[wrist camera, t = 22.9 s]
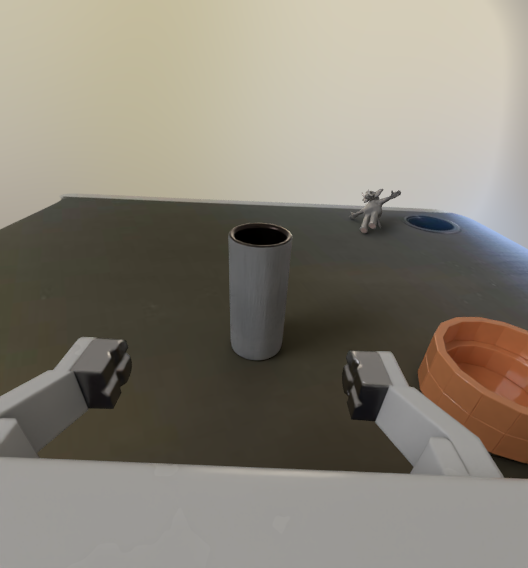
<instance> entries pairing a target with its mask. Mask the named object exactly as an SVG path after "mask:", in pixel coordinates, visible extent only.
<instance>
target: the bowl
mask: <svg viewBox="0 0 528 568" xmlns="http://www.w3.org/2000/svg"><path fill="white" fill-rule="evenodd" d="M418 377H419V384H420V389H421V391H422V393H423V395H424V396H426V397H427V398H428V399H429V400H431V401H432V402H433V403H435V404H436V405H437V406H438V407H440V408H441V409H442V410H444V411H445V412H446V413H448V414H449V415H450V416H451V417H453V418H454V419H455V420H457V421H458V422H459V423H461V424H462V425H463V426H464V427H466V428H467V429H468V430H470V431H471V432H472V433H473V434H475V435H476V436H477V437H479V438H480V440H481V441H482V443H483V445H484V446H485V448H486V449H487V451H489V452H491V453H492V454H496V455H499V456H502V457H506V458H509V459H512V460H516V461H519V462H522V463H527V464H528V331H527V330H524V329H521V328H519V327H516V326H513V325H511V324H508V323H505V322H501V321H496V320H491V319H486V318H481V317H456V318H453V319H450V320H448V321H445V322H442V323H441V324H440V325H439V327H438V328H437V330H436V332H435V333H434V335H433V338H432V340H431V342H430V345H429V347H428V349H427V351H426V354H425V356H424V358H423V361H422V363H421V365H420V367H419V370H418Z"/></svg>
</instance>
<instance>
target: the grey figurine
mask: <svg viewBox="0 0 528 568" xmlns="http://www.w3.org/2000/svg"><path fill="white" fill-rule="evenodd" d="M382 191H383V189H380V190H378V191H377V192H373V191H369V190H368V191H367V192H366V194H365V196H364V194H363V193H362V195H363V197H364V199H363V201H364V203H365V202H368V201H369V202H368V204H367V205H366V206H365V208H363V209H362V210H360V211H359V212H357V213H353V212H351V213H352V215H350V217H351V218H352V219H353V218H356V217H357V216H358V215H360V214H362V213H364V216H365V217H364V219H363V223H362V226H361V228H360V231H361V232H362V233H367V230H368V225H369V227H370V228H371V229H376V224H377V223H378V225H379V227H380V229H381V224H380V220H379V218H380V217H381V215H382V208H381V207H382V205H383V204H384V203H385V202H387V201H389V200H390V199H393V198H395V197H397V196H399V195H400V194H401V192H400V191H397V192H395V193H393V191H392V194H391V196H389V197H387V198H383V199H380V200H379V197H378V196H379V195H380V194H381V192H382ZM369 222H370V223H369Z"/></svg>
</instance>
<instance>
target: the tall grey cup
mask: <svg viewBox="0 0 528 568" xmlns="http://www.w3.org/2000/svg"><path fill="white" fill-rule="evenodd" d="M291 246H292V235H291V233H290V232H289V231H288V230H287V229H285V228H283V227H280V226H277V225H273V224H267V223H249V224H243V225H240V226H237V227H235V228H233V229H232V230H231V231H230V232H229V280H230V327H231V345H232V348H233V350H234V351H235V352H236V353H237V354H238V355H240V356H241V357H243V358H246V359H250V360H264V359H268V358H270V357H272V356H274V355H276V354H277V353H278V352H279V350H280V349H281V345H282V340H283V329H284V319H285V308H286V298H287V288H288V277H289V267H290V257H291Z"/></svg>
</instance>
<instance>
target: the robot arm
mask: <svg viewBox="0 0 528 568" xmlns="http://www.w3.org/2000/svg"><path fill="white" fill-rule="evenodd" d="M127 349H128V345H127V342H126V340H123V339H109V338H91V337H81V338H79V339H78V340H77V341H76V343H75V344H74V345H73V346H72V348H71V349H70V350H69V351H68V352H67V354H66V355H65V356H64V357H63V359H62V360H61V361H60V362H59V364H58V365H57V366H56V367H55V369H54V370H48V371H46V372H44V373H43V374H41V375H39V376H37V377H35V378H33V379H32V380H30V381H28V382H26V383H24V384H22V385H21V386H19V387H17V388H15V389H13V390H11V391H10V392H8V393H6V394H4V395H2V396H0V568H528V479H516V478H504V477H503V475H502V473H501V472H500V470H499V469H498V467H497V465H496V464H495V462H494V461H493V459H492V457H491V456H490V454H489V453H488V451H487V449H486V448H485V446H484V445H483V443H482V441H481V440H480V438H479V437H477V436H476V435H475V434H473V433H472V432H471V431H470V430H468V429H467V428H466V427H464V426H463V425H462V424H461V423H459V422H458V421H457V420H455V419H454V418H453V417H451V416H450V415H449V414H448V413H446V412H445V411H444V410H442V409H441V408H440V407H438V406H437V405H436V404H435V403H433V402H432V401H431V400H429V399H428V398H427V397H426V396H424V395H423V394H422V393H420V392H419V391H418V390H416V389H415V388H414V387H409V385H408V383H407V381H406V379H405V377H404V375H403V373H402V371H401V369H400V367H399V365H398V363H397V361H396V359H395V357H394V355H393V354H392V353H391V352H386V351H356V350H349V351H348V353H347V356H346V359H347V363H348V364H347V365H345V366H344V368H343V372H342V384H343V390H344V393H345V394H346V395H347V396H348V401H347V405H348V409H349V413H350V416H351V419H353V420H366V421H375V423H376V424H377V425H378V426H379V427H380V429H381V430H382V431H383V432H384V433H385V434H386V435H387V437H388V438H389V439H390V440H391V441H392V442H393V444H394V445H395V446H396V447H397V448H398V449H399V451H400V452H401V453H402V454H403V455H404V456H405V457H406V459H407V460H408V461H409V462H410V463H411V464H412V466H413V467H414V468H413V469H412V471H411V473H410V474H399V473H375V472H352V471H328V470H304V469H279V468H255V467H231V466H208V465H184V464H161V463H138V462H114V461H90V460H67V459H43V458H40V457H39V456H38V454H37V452H39V451H40V450H41V449H42V448H43V447H44V446H46V445H47V444H48V443H49V442H50V441H52V440H53V439H54V438H55V437H56V436H58V435H59V434H60V433H61V432H62V431H64V430H65V429H66V428H67V427H68V426H70V425H71V424H72V423H73V422H74V421H76V420H77V419H78V418H79V417H80V416H81V415H83V414H84V413H85V412H86V411H87V410H88V408H100V409H113V408H114V406H115V404H116V402H117V400H118V399H119V397H120V395H121V389H120V387H121V386H122V385H124V384H125V383H127V381H128V379H129V377H130V373H131V369H132V361H131V357H130V356H129V355H128V354H127V353H126V351H127Z"/></svg>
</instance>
